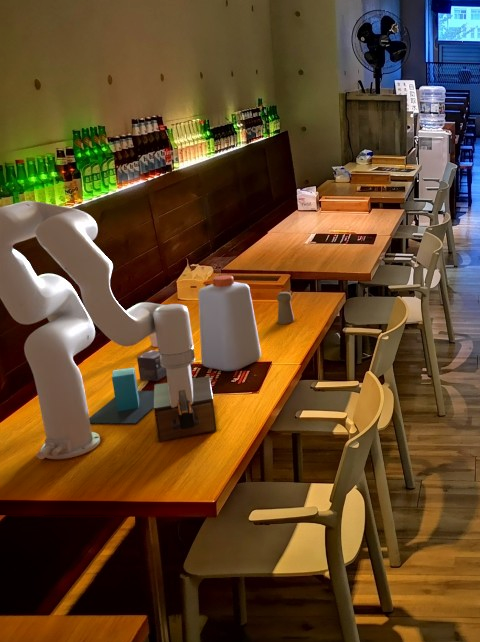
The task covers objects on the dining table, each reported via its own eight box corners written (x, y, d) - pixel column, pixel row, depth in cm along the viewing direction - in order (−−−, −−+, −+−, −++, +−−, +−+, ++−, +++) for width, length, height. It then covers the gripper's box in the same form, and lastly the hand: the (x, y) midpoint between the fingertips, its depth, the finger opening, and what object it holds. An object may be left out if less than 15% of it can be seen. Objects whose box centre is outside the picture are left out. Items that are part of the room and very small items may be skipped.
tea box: (138, 408, 198) (133, 374, 195) (117, 411, 196) (111, 377, 193) (139, 400, 202) (134, 367, 200) (118, 403, 200) (113, 370, 198)
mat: (136, 424, 189) (136, 423, 189) (83, 424, 190) (83, 422, 189) (171, 392, 209) (171, 390, 208) (123, 392, 209) (122, 390, 209)
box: (157, 381, 216) (154, 358, 214) (139, 380, 217) (136, 357, 215) (170, 373, 222) (167, 351, 220) (152, 372, 223) (149, 350, 221)
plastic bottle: (267, 357, 234) (259, 274, 226) (232, 374, 221) (222, 286, 213) (231, 350, 240) (222, 268, 233) (196, 366, 227) (185, 280, 219)
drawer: (215, 437, 181) (211, 410, 179) (160, 447, 176) (156, 420, 174) (211, 407, 197) (208, 382, 195) (161, 415, 192) (157, 390, 190)
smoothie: (171, 341, 249) (166, 302, 245) (163, 348, 243) (158, 308, 239) (152, 341, 248) (147, 302, 245) (144, 348, 242) (138, 308, 239)
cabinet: (216, 431, 186) (212, 398, 183) (158, 441, 180) (153, 408, 178) (213, 406, 199) (209, 376, 197) (159, 415, 194) (154, 384, 192)
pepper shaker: (274, 322, 267) (271, 294, 264) (283, 317, 272) (281, 289, 270) (288, 324, 265) (286, 295, 262) (297, 319, 271) (295, 291, 268)
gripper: (160, 348, 176) (170, 417, 181) (159, 370, 163) (171, 443, 168) (193, 343, 179) (202, 411, 184) (195, 364, 166) (205, 437, 171)
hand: (187, 426), depth 176 cm, fingers closed
